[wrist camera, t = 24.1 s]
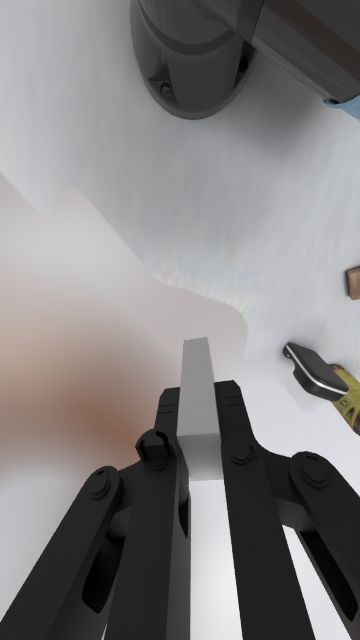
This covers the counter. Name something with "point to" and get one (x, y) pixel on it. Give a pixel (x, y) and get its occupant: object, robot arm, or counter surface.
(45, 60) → the counter surface
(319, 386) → the battery charger
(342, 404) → the sauce bottle
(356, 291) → the domino
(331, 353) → the counter surface
